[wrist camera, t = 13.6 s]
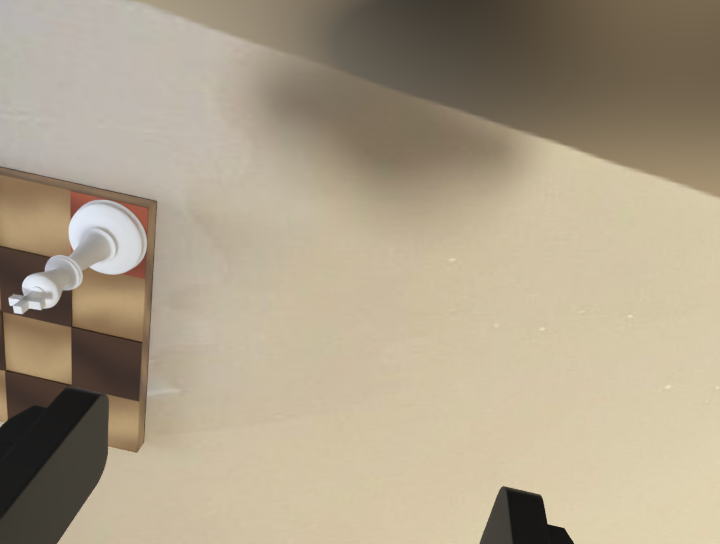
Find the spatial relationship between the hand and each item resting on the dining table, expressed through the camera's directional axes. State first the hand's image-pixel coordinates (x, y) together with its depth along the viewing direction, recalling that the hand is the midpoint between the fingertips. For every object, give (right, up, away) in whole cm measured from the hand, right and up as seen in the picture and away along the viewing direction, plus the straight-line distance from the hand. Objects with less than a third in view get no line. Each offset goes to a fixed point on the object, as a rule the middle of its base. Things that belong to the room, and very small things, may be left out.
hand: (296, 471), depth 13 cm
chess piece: (-15, +6, +29) cm, 33 cm away
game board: (-23, +2, +33) cm, 41 cm away
